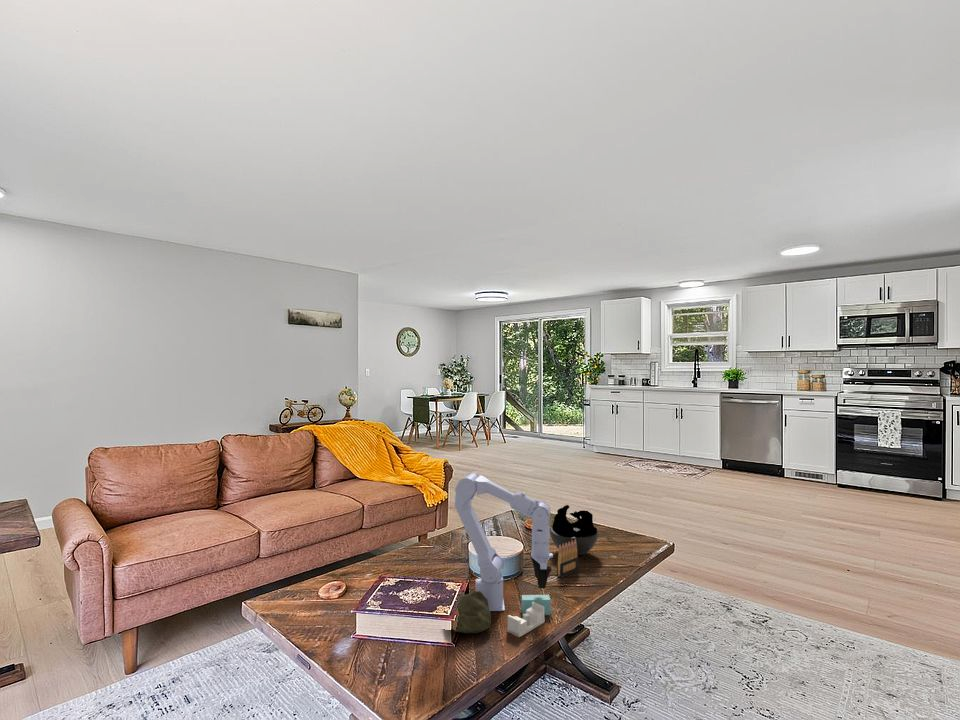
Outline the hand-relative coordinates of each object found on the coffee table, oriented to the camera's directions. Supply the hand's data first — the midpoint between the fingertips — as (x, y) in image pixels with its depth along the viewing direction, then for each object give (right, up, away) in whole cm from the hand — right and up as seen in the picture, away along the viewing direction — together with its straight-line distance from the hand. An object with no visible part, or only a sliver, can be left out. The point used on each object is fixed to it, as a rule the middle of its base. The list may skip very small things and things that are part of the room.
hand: (540, 582), depth 168 cm
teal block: (-1, -10, -1) cm, 10 cm away
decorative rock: (-23, -10, -9) cm, 27 cm away
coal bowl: (+20, -9, +49) cm, 54 cm away
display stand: (-5, -9, -10) cm, 15 cm away
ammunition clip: (+14, -10, +30) cm, 35 cm away
